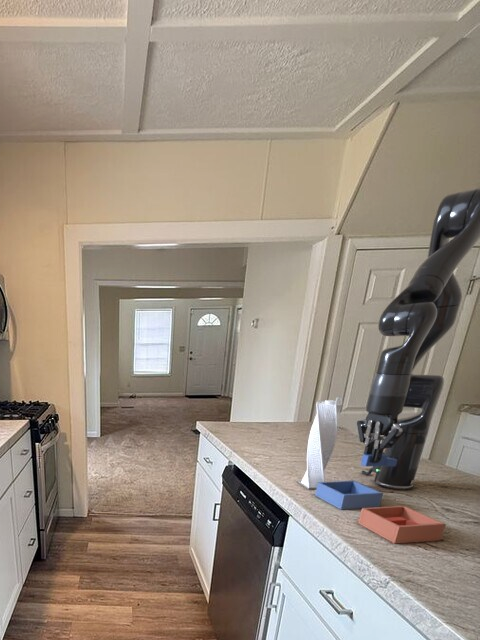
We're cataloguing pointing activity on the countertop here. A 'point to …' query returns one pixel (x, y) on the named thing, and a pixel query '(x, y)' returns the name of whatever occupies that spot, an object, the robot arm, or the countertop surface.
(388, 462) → the blue stepped block
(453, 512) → the countertop surface
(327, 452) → the skyscraper
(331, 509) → the countertop surface
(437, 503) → the countertop surface
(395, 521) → the red stepped block
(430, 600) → the countertop surface
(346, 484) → the blue bin
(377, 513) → the terracotta bin
